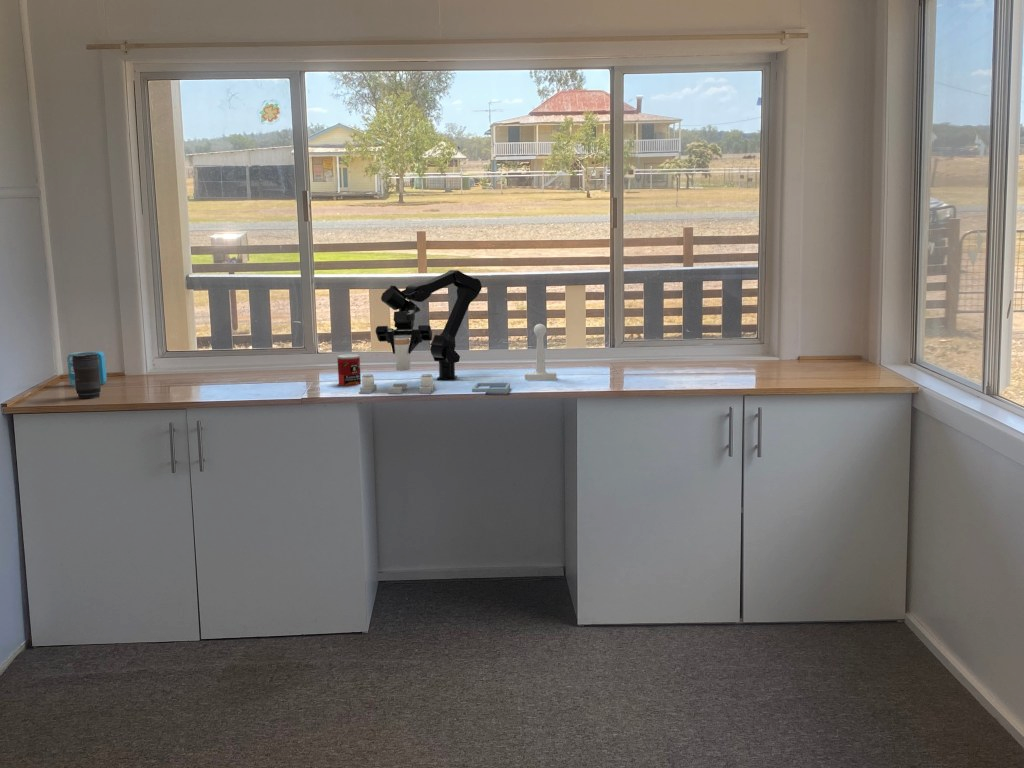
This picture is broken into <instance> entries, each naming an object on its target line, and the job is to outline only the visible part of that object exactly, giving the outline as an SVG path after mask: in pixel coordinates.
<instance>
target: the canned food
mask: <svg viewBox="0 0 1024 768" xmlns="http://www.w3.org/2000/svg"><path fill="white" fill-rule="evenodd" d="M337 374H338V375H337V376H338V385H339V386H341V387H343V386H344V387H352V386H353V387H354V386H359V385H362V374H361V358H360V354H353V353H348V354H347V353H346V354H345V353H344V354H340V355H337Z"/></svg>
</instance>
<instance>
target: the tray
mask: <svg viewBox="0 0 1024 768" xmlns="http://www.w3.org/2000/svg"><path fill="white" fill-rule="evenodd" d="M479 387H483V388H479ZM509 389H510V390H511V382H475V384H474V385H473V387H472V388H471V392H472V393H485V394H484V395H486V396H487V395H489V396H491V395H498V396H499V395H501V396H502V395H504V396H505V395H509V392H510V390H509ZM508 391H509V392H508Z"/></svg>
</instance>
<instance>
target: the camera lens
mask: <svg viewBox="0 0 1024 768" xmlns="http://www.w3.org/2000/svg"><path fill="white" fill-rule="evenodd" d="M85 352H86V353H78V354H74V355H73V358H72V360H73V369H74V374H75V386H76V387H75V390H76V394H77V396H78V397H79V398H78V399H80V398H91V399H96V398H95V397H97V398H100V397H99V396H100V395H101V387H102V385H101V384H100V376H99V361H98V356H97V353H95V352H96V351H85Z"/></svg>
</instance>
